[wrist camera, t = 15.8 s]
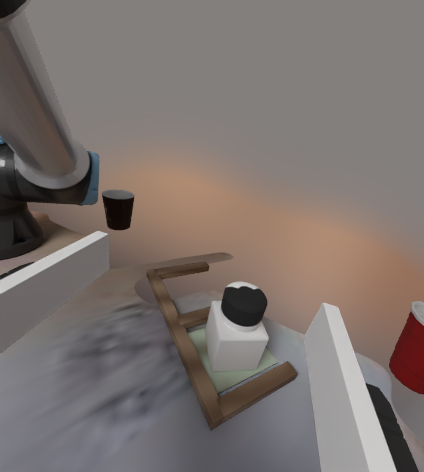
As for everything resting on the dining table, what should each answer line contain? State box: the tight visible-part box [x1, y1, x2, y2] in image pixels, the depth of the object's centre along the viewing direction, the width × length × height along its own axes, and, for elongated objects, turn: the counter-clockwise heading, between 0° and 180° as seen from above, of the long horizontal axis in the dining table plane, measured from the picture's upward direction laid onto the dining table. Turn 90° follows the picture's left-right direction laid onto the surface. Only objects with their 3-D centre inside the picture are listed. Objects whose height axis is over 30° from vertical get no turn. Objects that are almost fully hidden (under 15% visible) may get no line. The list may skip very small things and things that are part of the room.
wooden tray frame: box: [147, 262, 298, 430], centre depth 40 cm, size 30×14×2 cm, turn 29°
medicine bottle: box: [205, 282, 269, 372], centre depth 32 cm, size 7×7×12 cm
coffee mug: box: [102, 190, 134, 230], centre depth 63 cm, size 12×9×10 cm
